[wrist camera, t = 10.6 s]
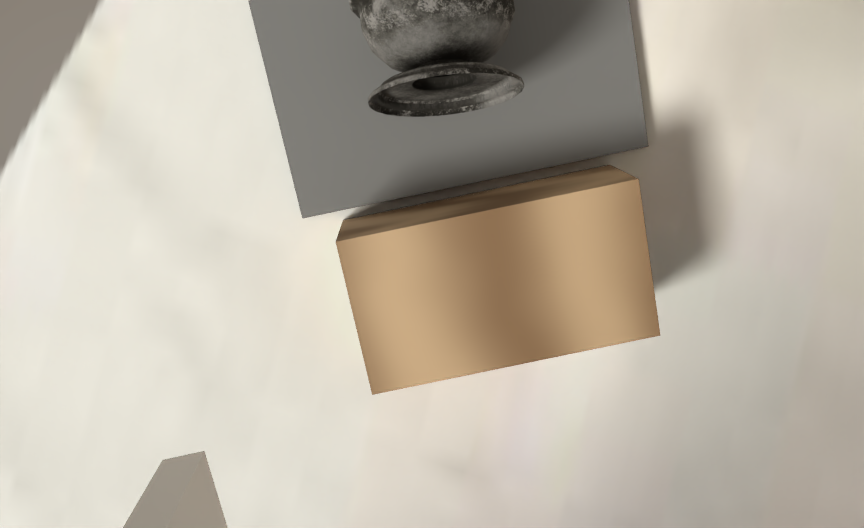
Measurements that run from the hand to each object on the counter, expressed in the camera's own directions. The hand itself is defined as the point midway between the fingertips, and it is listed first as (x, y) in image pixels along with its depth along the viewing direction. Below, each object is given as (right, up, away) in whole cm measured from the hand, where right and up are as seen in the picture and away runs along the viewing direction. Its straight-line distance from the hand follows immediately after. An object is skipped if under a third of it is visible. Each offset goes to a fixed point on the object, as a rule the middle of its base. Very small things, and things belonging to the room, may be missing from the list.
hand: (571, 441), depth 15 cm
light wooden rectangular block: (0, +3, +19) cm, 19 cm away
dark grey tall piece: (-2, +9, +13) cm, 15 cm away
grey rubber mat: (-2, +11, +17) cm, 20 cm away
